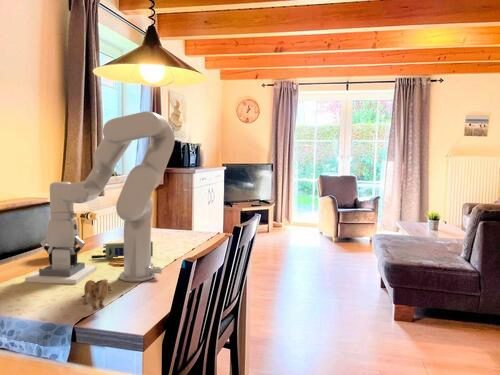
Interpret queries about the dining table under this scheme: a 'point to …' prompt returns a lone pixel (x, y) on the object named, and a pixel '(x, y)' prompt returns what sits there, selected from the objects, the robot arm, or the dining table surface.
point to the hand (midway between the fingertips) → (63, 263)
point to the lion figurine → (96, 291)
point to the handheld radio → (115, 250)
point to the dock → (62, 274)
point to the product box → (61, 259)
